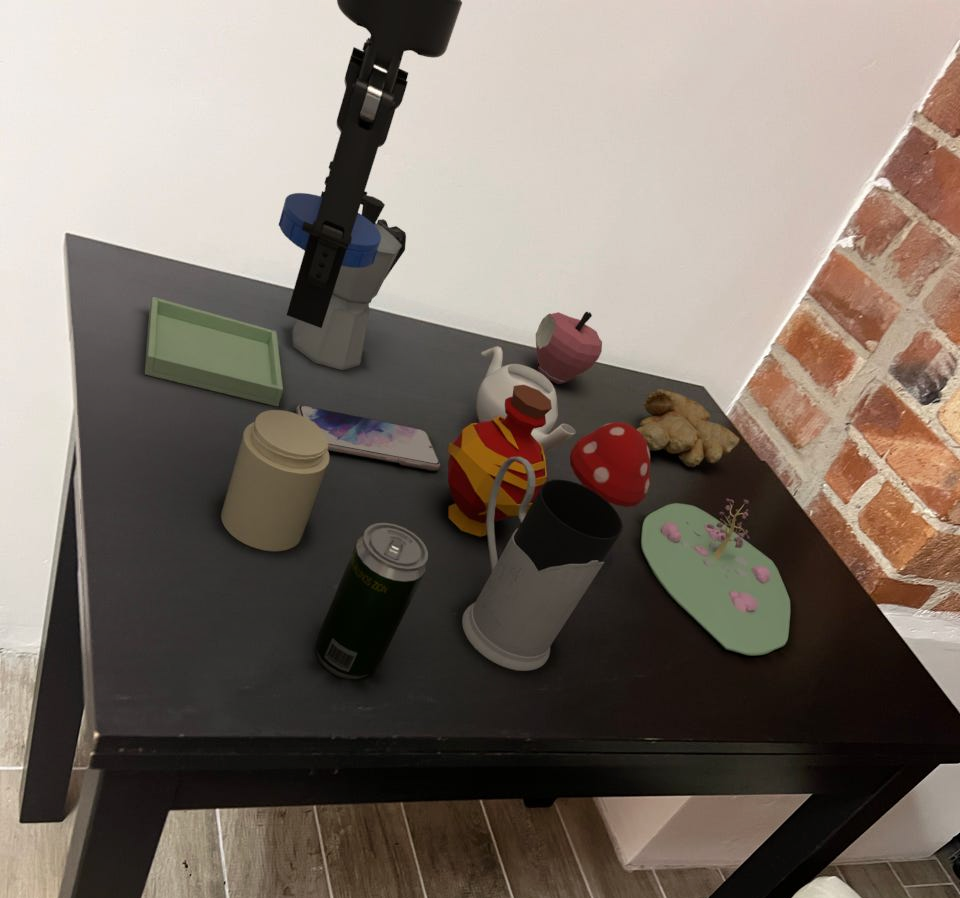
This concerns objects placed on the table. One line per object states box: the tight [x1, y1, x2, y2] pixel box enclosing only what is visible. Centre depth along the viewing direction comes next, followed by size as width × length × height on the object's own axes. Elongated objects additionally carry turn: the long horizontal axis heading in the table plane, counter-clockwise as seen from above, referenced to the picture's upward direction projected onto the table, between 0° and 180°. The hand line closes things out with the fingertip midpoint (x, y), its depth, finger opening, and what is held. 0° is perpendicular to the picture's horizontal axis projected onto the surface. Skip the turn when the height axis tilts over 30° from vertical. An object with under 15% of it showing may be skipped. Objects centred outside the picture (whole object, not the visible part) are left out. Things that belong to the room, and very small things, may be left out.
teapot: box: [475, 345, 576, 456], centre depth 105 cm, size 10×20×9 cm, turn 26°
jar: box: [220, 409, 331, 552], centre depth 77 cm, size 7×7×10 cm
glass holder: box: [461, 457, 623, 672], centre depth 80 cm, size 9×14×15 cm, turn 32°
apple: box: [535, 311, 603, 385], centre depth 125 cm, size 10×9×10 cm
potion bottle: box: [447, 385, 552, 538], centre depth 89 cm, size 10×10×15 cm
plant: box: [640, 498, 791, 656], centre depth 103 cm, size 25×21×9 cm
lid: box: [278, 192, 381, 268], centre depth 68 cm, size 7×7×2 cm
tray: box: [144, 296, 284, 407], centre depth 95 cm, size 13×12×2 cm
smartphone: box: [295, 404, 441, 472], centre depth 96 cm, size 7×1×15 cm
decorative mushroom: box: [569, 421, 651, 508], centre depth 93 cm, size 10×9×15 cm
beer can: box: [315, 522, 429, 680], centre depth 69 cm, size 5×5×12 cm
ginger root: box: [636, 388, 741, 468], centre depth 126 cm, size 16×16×8 cm
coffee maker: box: [291, 195, 407, 371], centre depth 103 cm, size 15×9×18 cm, turn 147°
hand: (310, 297), depth 71 cm, fingers closed on lid, 7 cm apart
